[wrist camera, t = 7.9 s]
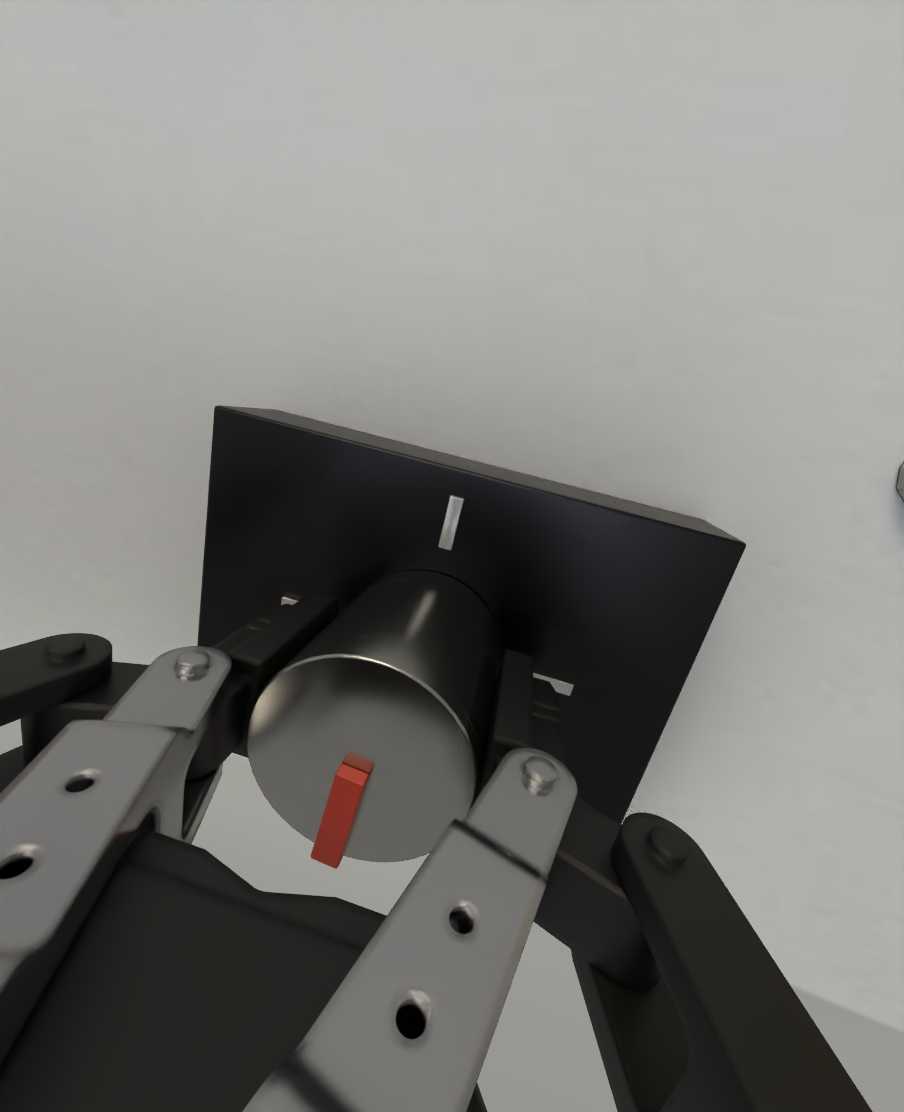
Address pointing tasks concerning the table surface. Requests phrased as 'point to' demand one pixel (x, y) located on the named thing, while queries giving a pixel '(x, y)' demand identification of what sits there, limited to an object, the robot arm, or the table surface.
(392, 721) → the hob knob
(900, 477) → the emergency button
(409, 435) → the table surface
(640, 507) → the panel
